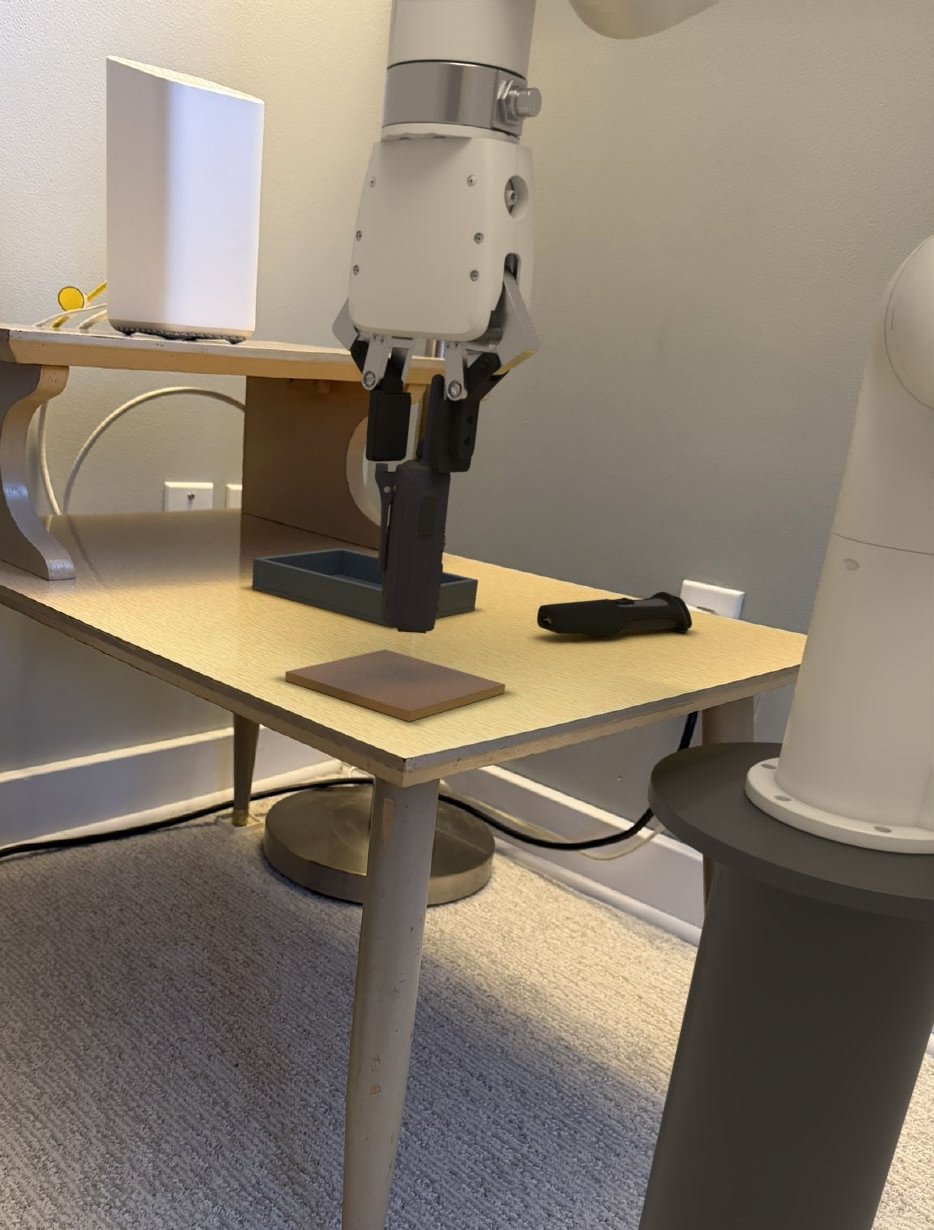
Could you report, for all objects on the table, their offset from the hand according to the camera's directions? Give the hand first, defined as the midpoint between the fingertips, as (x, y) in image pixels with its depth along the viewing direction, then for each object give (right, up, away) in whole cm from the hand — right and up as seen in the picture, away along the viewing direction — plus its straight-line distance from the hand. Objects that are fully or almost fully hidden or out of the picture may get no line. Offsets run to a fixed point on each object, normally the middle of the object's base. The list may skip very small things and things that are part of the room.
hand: (417, 462), depth 69 cm
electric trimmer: (+17, -7, +24) cm, 30 cm away
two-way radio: (-1, -9, +4) cm, 10 cm away
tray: (-3, -4, +29) cm, 29 cm away
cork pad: (-1, -13, +5) cm, 14 cm away
